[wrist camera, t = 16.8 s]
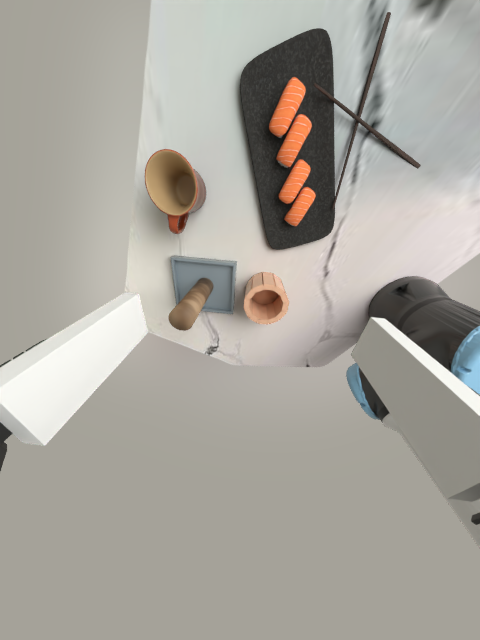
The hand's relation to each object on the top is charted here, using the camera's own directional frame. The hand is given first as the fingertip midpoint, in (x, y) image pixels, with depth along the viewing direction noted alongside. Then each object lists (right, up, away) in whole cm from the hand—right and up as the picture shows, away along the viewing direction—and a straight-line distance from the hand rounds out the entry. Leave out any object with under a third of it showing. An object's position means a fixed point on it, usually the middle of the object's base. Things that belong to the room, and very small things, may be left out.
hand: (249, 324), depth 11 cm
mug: (-11, +27, +28) cm, 40 cm away
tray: (-10, +10, +38) cm, 40 cm away
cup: (+6, +8, +37) cm, 39 cm away
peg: (-10, +10, +37) cm, 40 cm away
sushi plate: (+17, +32, +23) cm, 43 cm away
